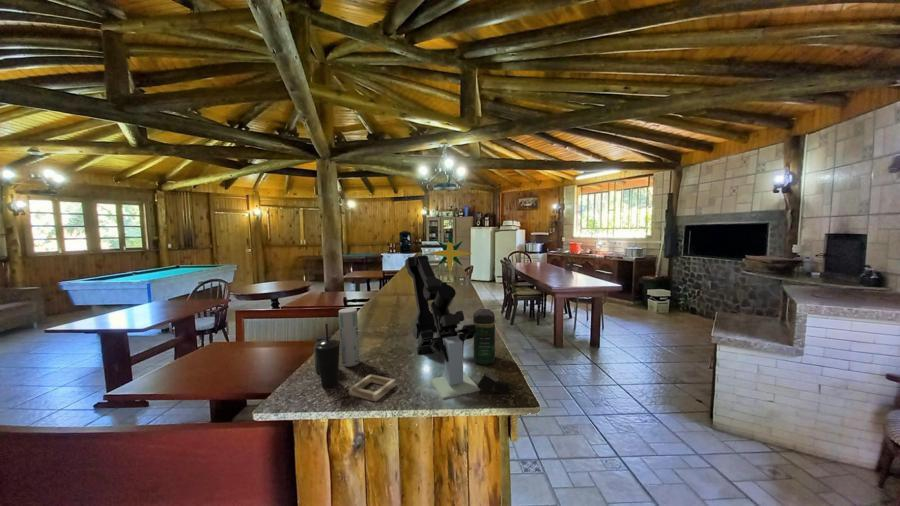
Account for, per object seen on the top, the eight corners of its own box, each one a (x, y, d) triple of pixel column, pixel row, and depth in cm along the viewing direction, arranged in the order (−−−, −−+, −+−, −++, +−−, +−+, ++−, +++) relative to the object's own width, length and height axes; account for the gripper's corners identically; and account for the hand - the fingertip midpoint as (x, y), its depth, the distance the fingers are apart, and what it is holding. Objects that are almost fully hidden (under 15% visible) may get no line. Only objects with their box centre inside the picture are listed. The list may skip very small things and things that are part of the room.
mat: (430, 381, 107) (430, 379, 107) (464, 374, 111) (464, 372, 111) (442, 399, 95) (442, 397, 95) (480, 390, 100) (480, 388, 100)
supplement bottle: (339, 366, 119) (338, 334, 118) (327, 375, 113) (325, 341, 111) (324, 364, 121) (322, 332, 120) (310, 372, 115) (308, 339, 114)
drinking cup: (327, 393, 100) (323, 329, 99) (312, 387, 104) (308, 325, 103) (347, 382, 107) (344, 322, 105) (332, 377, 111) (328, 319, 109)
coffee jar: (495, 365, 117) (495, 314, 115) (473, 365, 118) (472, 314, 116) (495, 354, 126) (494, 307, 124) (474, 354, 127) (473, 307, 125)
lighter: (501, 398, 100) (511, 383, 100) (502, 402, 98) (513, 386, 97) (477, 383, 100) (487, 368, 99) (477, 387, 98) (487, 371, 97)
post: (445, 378, 104) (444, 338, 103) (457, 376, 106) (457, 336, 105) (450, 385, 100) (449, 343, 99) (463, 382, 102) (462, 341, 101)
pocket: (370, 380, 108) (370, 374, 108) (395, 385, 104) (395, 379, 104) (349, 394, 99) (348, 388, 99) (376, 401, 95) (375, 394, 95)
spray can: (359, 365, 120) (356, 311, 118) (340, 367, 118) (337, 313, 116) (359, 358, 126) (357, 307, 124) (342, 360, 124) (339, 308, 122)
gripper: (419, 306, 101) (431, 354, 92) (474, 299, 108) (490, 343, 99) (413, 324, 109) (424, 369, 100) (465, 316, 116) (479, 359, 107)
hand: (455, 360), depth 101 cm, fingers closed on post, 4 cm apart
